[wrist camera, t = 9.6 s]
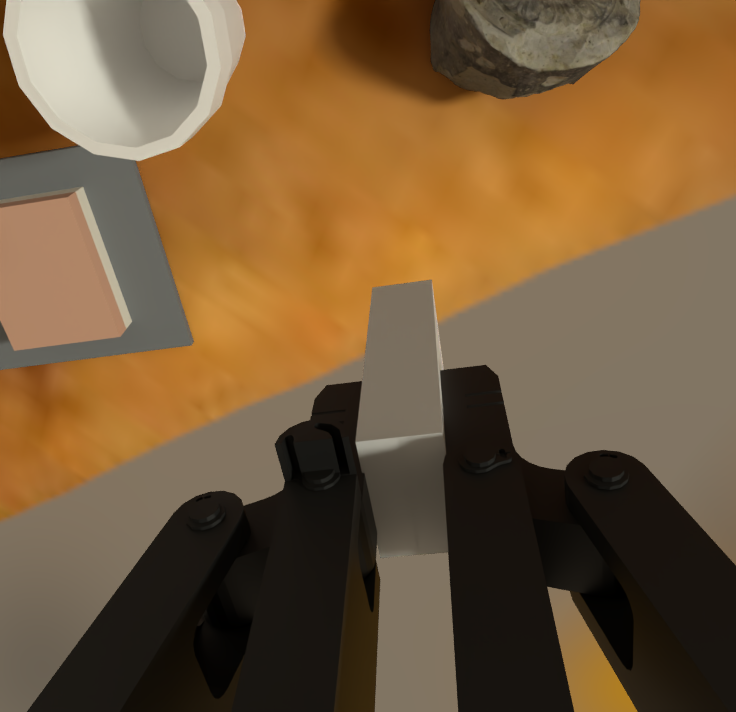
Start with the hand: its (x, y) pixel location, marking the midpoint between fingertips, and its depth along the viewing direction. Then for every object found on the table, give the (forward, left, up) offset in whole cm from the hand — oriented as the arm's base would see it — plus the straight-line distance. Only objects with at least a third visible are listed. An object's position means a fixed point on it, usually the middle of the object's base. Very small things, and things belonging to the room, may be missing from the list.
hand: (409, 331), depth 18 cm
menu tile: (+6, -22, -28) cm, 36 cm away
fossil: (-6, +8, -30) cm, 31 cm away
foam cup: (-7, -12, -30) cm, 33 cm away
